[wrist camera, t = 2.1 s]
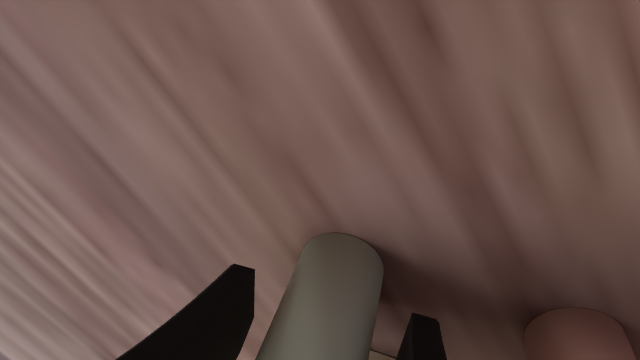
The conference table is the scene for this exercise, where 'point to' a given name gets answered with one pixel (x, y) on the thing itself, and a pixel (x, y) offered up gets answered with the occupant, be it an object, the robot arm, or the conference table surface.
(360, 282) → the long pin
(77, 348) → the conference table surface
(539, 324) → the short pin
